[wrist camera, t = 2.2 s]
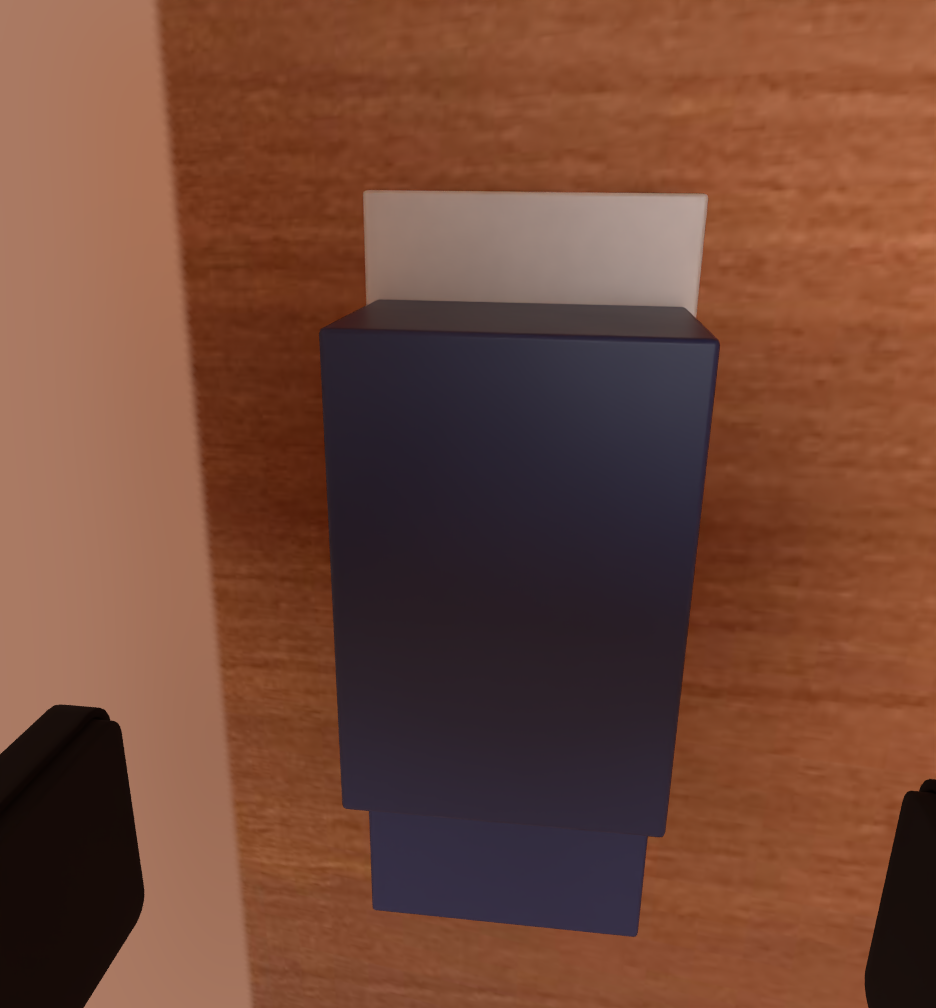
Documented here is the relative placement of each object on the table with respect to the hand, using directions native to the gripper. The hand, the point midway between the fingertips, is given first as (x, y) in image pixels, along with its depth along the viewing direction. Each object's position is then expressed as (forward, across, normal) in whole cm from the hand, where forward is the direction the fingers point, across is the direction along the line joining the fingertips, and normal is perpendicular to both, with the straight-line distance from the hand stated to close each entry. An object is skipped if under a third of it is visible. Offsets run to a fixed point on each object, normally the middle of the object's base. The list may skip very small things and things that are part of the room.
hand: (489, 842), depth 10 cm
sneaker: (+10, 0, 0) cm, 10 cm away
